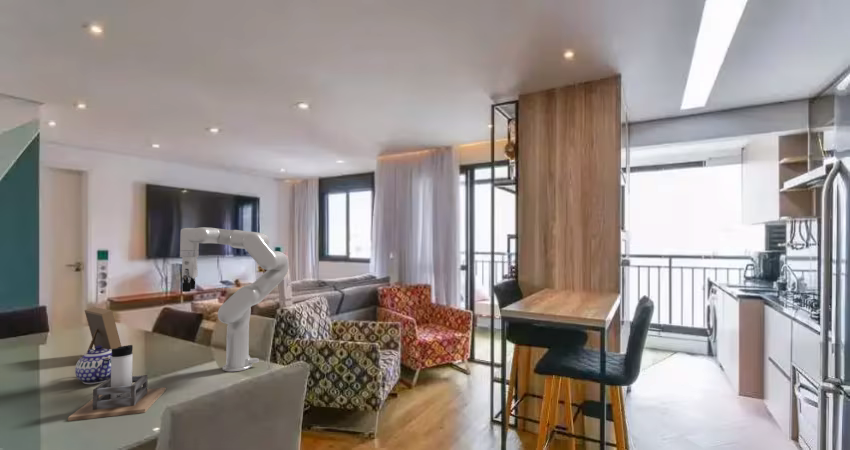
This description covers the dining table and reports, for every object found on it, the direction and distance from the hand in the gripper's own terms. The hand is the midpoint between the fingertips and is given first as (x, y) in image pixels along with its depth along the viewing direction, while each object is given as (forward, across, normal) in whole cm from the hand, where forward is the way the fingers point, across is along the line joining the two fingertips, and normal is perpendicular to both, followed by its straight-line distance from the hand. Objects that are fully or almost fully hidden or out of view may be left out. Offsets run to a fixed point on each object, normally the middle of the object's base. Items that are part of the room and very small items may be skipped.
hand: (188, 290), depth 192 cm
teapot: (+36, -6, +33) cm, 49 cm away
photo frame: (+36, +34, +48) cm, 69 cm away
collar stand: (+36, -40, +13) cm, 56 cm away
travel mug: (+35, -41, +13) cm, 55 cm away
